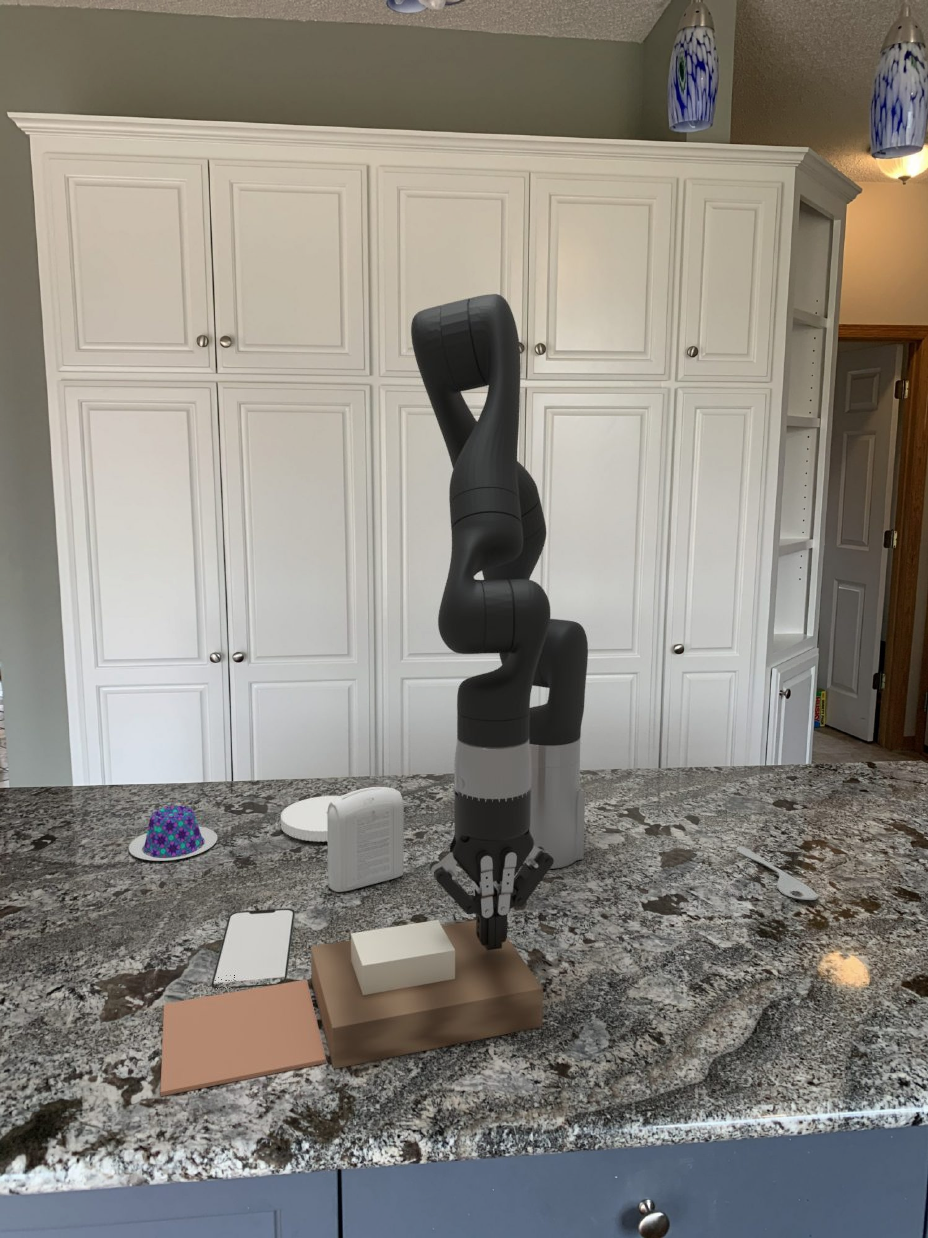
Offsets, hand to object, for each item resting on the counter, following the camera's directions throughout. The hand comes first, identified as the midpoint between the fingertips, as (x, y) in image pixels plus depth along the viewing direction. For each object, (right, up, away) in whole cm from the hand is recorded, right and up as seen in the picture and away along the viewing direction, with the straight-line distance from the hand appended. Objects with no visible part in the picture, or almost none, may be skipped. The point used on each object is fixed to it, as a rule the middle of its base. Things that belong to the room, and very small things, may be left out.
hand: (491, 945), depth 87 cm
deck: (-7, -5, -1) cm, 9 cm away
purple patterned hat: (-44, 0, +36) cm, 57 cm away
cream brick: (-9, -1, -2) cm, 9 cm away
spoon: (+38, -1, +29) cm, 47 cm away
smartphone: (-26, -4, +9) cm, 28 cm away
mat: (-24, -6, -6) cm, 25 cm away
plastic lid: (-23, +1, +42) cm, 48 cm away
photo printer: (-15, -1, +25) cm, 29 cm away
